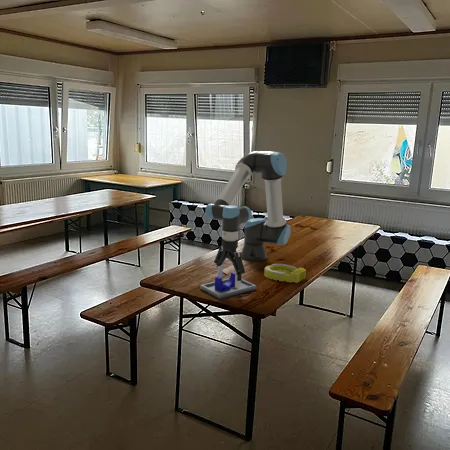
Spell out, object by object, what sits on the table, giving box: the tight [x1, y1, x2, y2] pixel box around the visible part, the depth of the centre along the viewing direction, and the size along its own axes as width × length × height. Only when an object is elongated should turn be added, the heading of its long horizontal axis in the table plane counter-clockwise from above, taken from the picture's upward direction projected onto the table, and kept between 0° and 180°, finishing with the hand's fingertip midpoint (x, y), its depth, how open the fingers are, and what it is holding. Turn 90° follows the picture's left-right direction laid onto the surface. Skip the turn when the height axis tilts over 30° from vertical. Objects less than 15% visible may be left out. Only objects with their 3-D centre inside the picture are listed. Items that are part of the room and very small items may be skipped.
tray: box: [199, 277, 257, 300], centre depth 215 cm, size 22×15×2 cm
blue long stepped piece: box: [214, 271, 236, 292], centre depth 214 cm, size 12×4×6 cm, turn 135°
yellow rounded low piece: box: [263, 263, 307, 284], centre depth 236 cm, size 16×21×5 cm
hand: (228, 282), depth 215 cm, fingers open, 13 cm apart
